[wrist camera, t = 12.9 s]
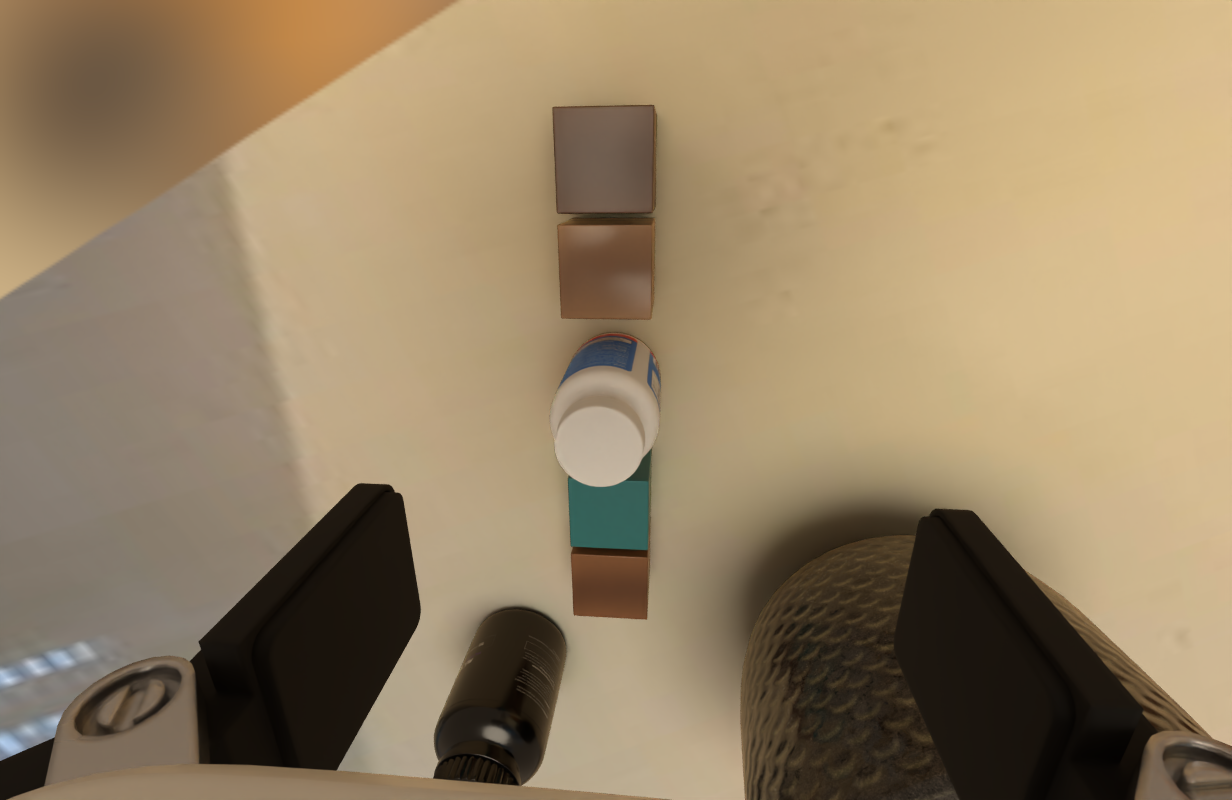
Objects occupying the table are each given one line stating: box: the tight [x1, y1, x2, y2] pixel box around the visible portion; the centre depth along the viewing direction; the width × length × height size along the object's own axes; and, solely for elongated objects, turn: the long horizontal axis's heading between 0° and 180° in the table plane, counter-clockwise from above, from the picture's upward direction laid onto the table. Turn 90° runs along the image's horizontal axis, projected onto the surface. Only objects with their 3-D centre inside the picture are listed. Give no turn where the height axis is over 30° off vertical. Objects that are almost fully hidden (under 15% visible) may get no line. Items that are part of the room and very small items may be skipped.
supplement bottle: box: [433, 609, 566, 786], centre depth 37 cm, size 7×7×12 cm
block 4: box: [571, 517, 651, 619], centre depth 37 cm, size 4×4×4 cm
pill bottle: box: [550, 333, 661, 487], centre depth 30 cm, size 6×5×10 cm
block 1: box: [553, 105, 657, 214], centre depth 28 cm, size 4×4×4 cm
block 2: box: [557, 218, 655, 320], centre depth 30 cm, size 4×4×4 cm
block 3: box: [568, 448, 652, 550], centre depth 35 cm, size 4×4×4 cm
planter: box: [740, 535, 1213, 800], centre depth 30 cm, size 20×20×19 cm
